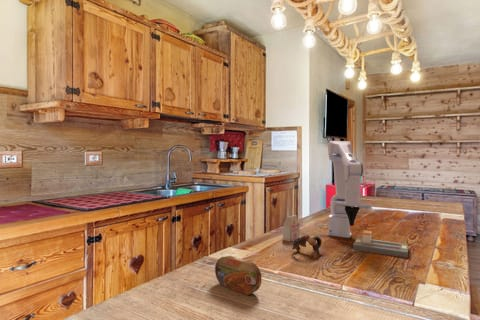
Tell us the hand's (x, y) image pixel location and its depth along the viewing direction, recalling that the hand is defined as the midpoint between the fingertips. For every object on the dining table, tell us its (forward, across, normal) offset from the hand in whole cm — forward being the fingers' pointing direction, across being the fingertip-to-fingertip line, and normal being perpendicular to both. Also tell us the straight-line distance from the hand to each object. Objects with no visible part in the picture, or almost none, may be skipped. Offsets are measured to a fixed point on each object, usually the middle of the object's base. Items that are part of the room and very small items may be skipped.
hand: (351, 225), depth 133 cm
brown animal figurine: (+8, -12, -20) cm, 25 cm away
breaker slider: (+6, +6, 0) cm, 8 cm away
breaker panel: (+8, +11, 0) cm, 14 cm away
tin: (+9, -22, -59) cm, 63 cm away
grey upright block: (+8, -24, -4) cm, 26 cm away
